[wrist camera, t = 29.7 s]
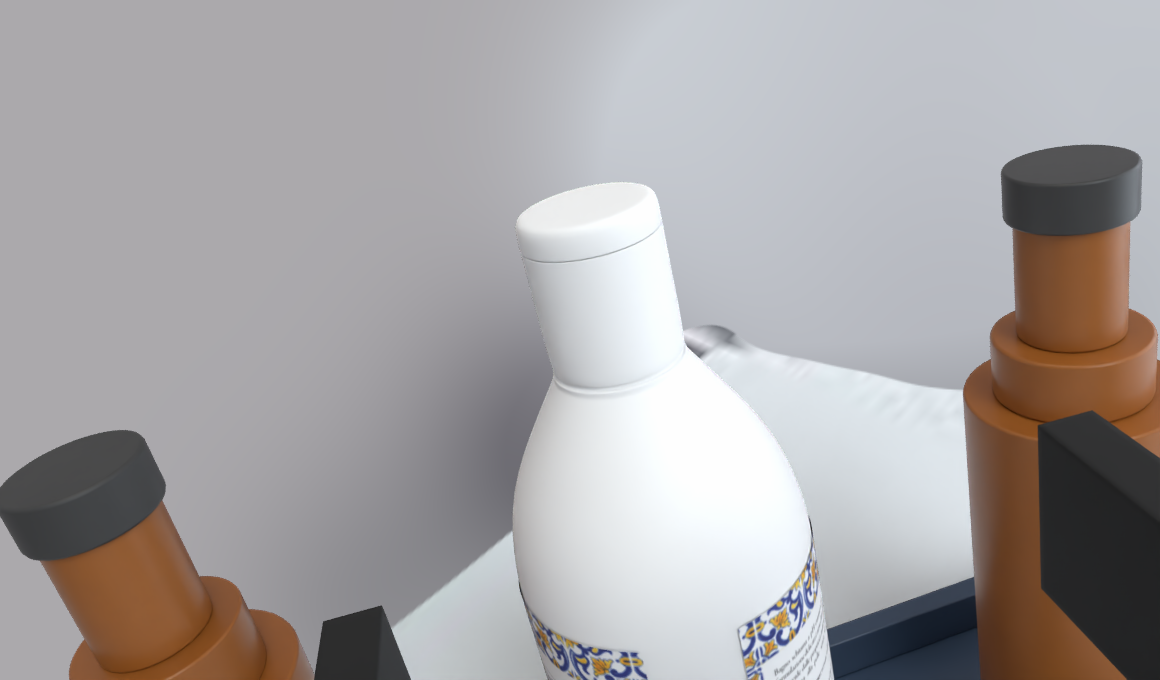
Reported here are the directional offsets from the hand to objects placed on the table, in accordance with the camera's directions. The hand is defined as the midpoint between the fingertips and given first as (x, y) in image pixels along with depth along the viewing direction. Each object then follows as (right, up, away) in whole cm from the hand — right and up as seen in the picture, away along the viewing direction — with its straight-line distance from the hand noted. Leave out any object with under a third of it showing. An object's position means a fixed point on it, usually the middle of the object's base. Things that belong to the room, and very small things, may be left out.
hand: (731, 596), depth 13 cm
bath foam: (+2, -12, +15) cm, 19 cm away
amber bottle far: (+13, -8, +16) cm, 22 cm away
